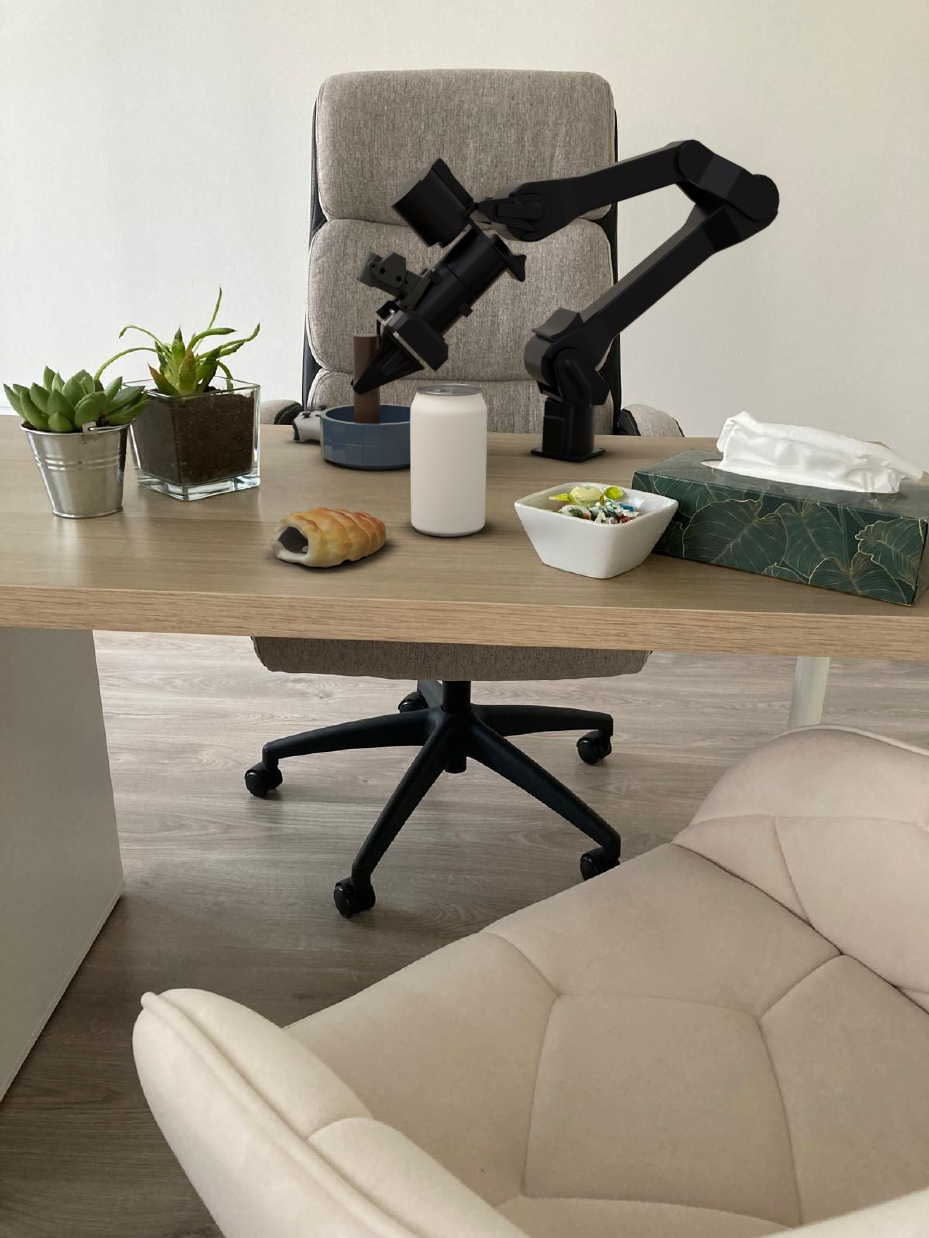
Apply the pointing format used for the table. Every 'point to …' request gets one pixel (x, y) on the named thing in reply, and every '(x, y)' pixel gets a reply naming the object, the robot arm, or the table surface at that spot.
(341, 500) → the table surface
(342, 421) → the bowl
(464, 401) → the can
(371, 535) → the pastry
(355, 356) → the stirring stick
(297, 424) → the game controller
